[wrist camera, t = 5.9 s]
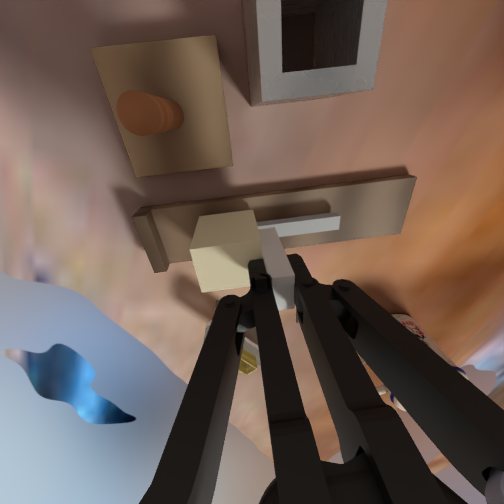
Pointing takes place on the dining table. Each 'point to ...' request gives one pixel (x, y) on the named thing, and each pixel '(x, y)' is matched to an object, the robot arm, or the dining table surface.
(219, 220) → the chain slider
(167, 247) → the rail
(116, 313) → the dining table surface
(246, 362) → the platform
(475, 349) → the dining table surface
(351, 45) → the grey hollow square block
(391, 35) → the dining table surface
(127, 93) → the square plate with peg
